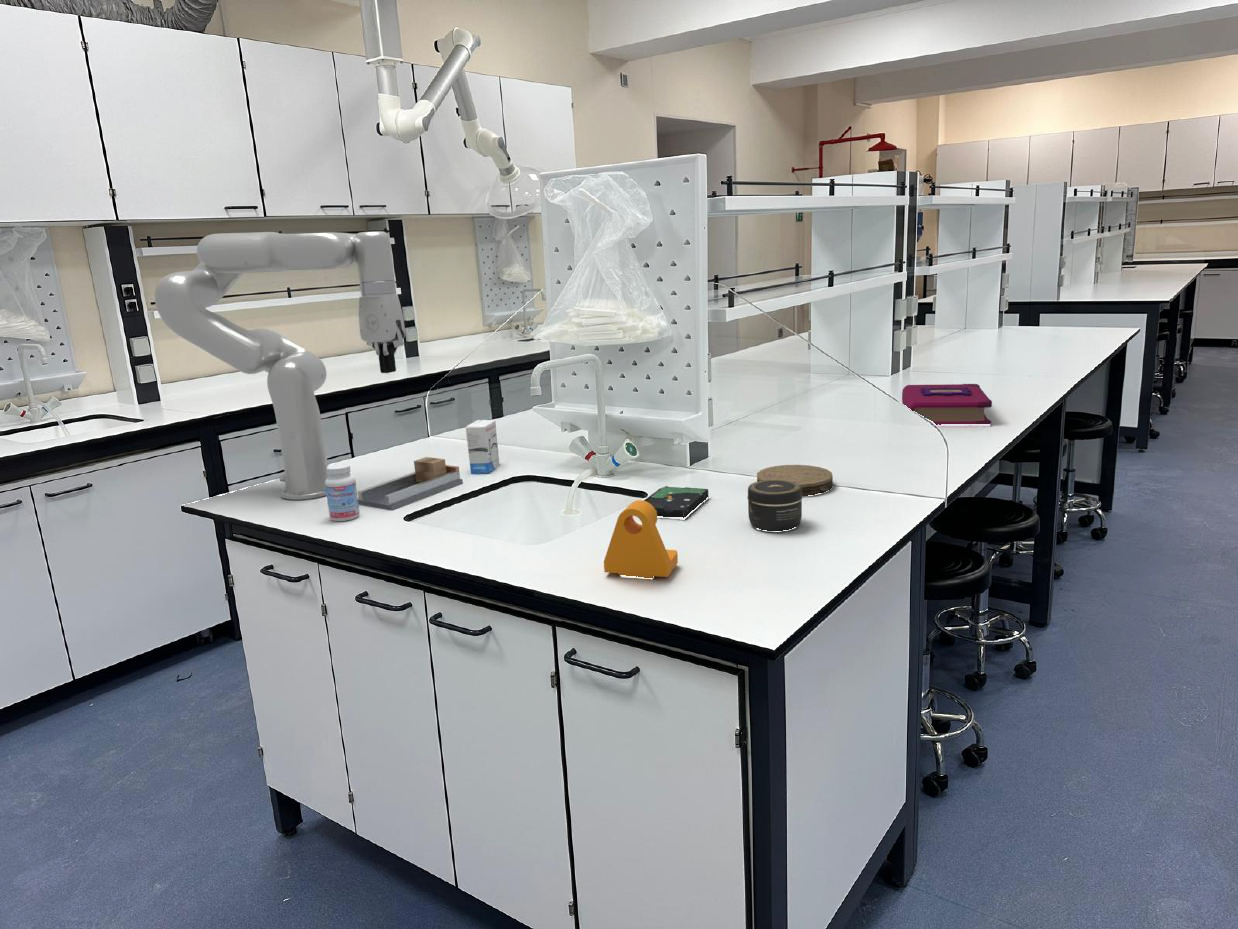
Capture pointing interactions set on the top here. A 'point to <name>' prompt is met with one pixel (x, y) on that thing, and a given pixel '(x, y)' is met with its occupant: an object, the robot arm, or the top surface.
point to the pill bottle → (341, 493)
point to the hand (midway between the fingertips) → (388, 372)
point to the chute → (407, 489)
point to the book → (948, 403)
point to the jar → (775, 504)
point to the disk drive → (676, 500)
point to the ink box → (482, 446)
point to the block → (429, 468)
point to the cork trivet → (800, 477)
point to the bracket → (639, 545)
